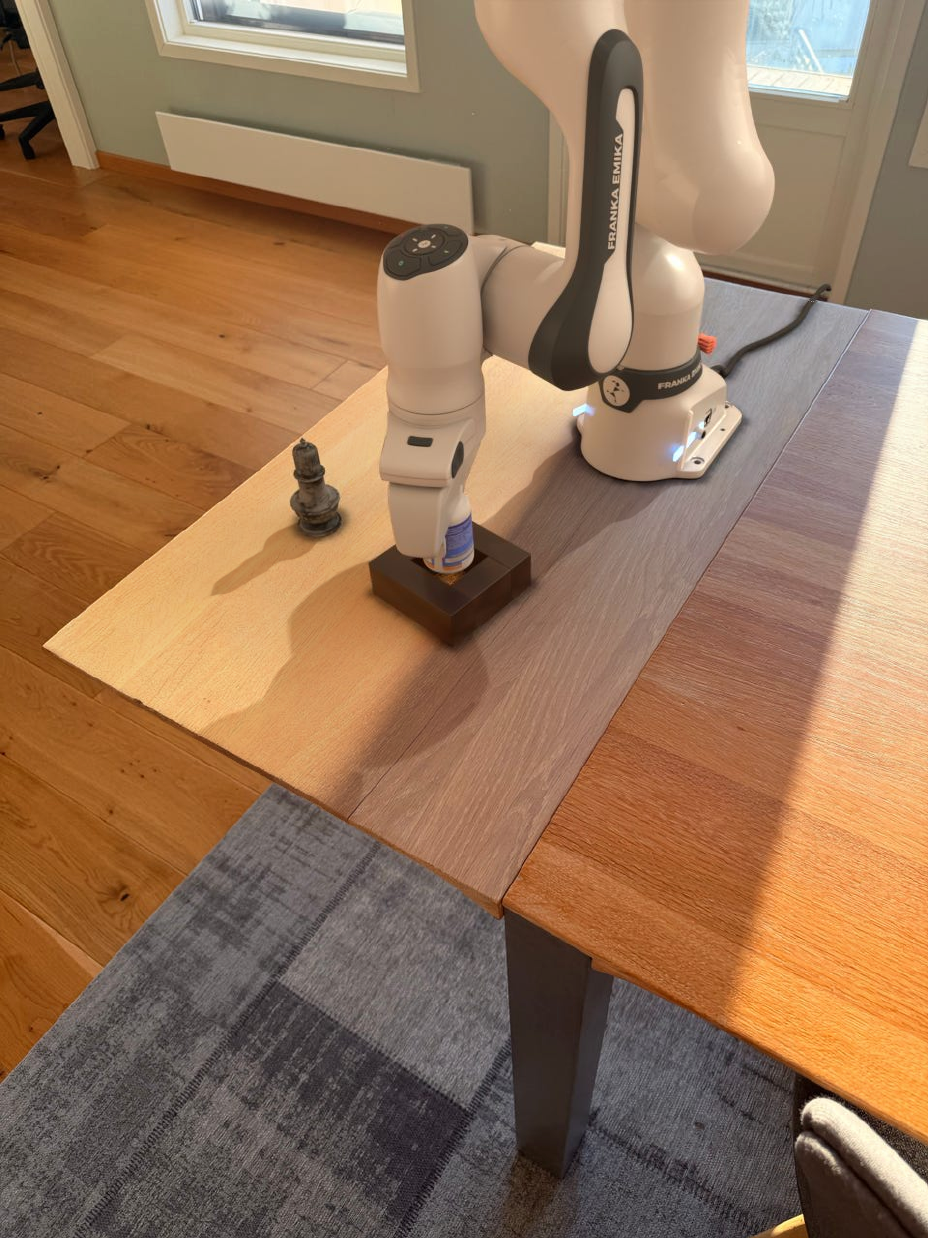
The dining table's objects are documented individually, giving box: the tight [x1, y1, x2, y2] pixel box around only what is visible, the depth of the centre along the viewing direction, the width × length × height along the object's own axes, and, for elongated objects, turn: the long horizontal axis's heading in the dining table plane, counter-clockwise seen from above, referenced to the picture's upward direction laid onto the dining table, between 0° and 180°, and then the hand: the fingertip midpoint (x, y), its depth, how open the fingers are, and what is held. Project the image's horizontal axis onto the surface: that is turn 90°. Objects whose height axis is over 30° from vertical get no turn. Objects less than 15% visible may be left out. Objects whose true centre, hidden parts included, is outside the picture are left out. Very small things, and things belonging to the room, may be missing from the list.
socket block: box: [367, 520, 532, 648], centre depth 97 cm, size 12×12×4 cm
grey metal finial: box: [289, 437, 343, 538], centre depth 104 cm, size 6×6×12 cm
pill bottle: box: [423, 485, 474, 575], centre depth 92 cm, size 5×5×10 cm
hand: (446, 532), depth 93 cm, fingers closed on pill bottle, 5 cm apart
